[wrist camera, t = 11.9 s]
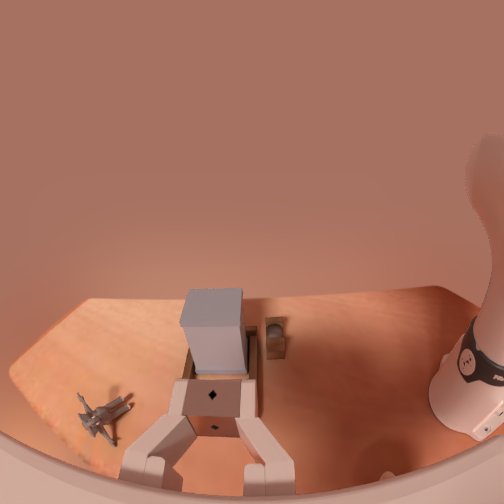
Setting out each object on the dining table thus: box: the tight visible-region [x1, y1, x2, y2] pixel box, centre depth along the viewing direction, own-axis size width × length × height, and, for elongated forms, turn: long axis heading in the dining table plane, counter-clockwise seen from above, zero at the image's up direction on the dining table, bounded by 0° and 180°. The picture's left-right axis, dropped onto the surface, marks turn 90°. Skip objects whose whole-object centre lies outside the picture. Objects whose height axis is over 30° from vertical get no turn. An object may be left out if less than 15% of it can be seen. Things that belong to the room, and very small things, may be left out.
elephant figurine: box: [77, 393, 131, 448], centre depth 34 cm, size 10×6×9 cm
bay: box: [182, 317, 285, 397], centre depth 43 cm, size 16×19×4 cm
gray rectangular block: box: [179, 288, 248, 374], centre depth 45 cm, size 8×7×12 cm
